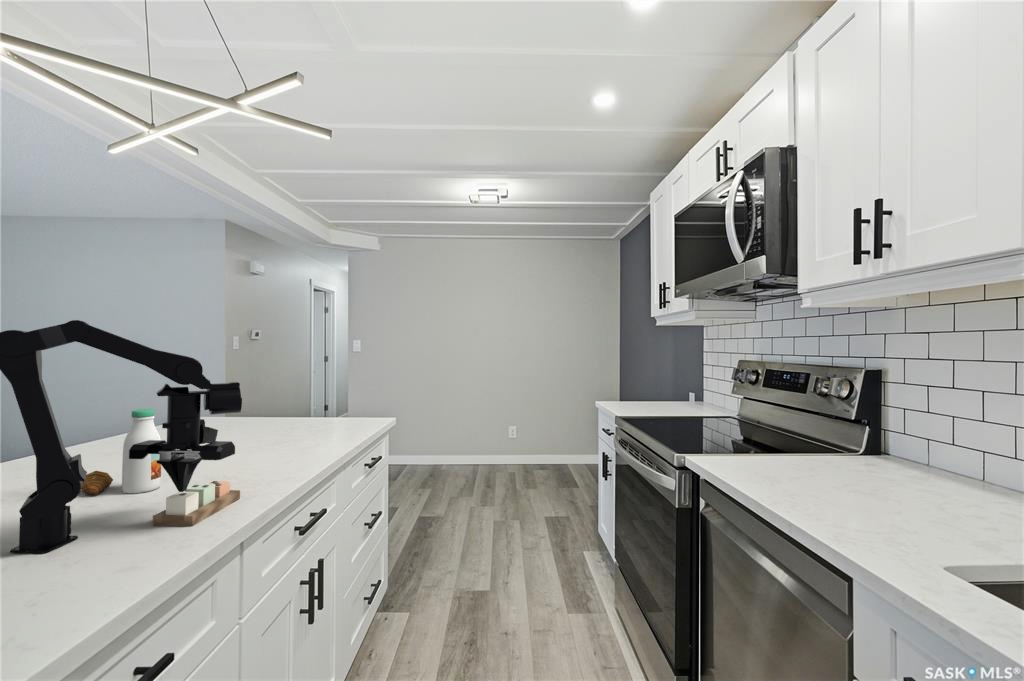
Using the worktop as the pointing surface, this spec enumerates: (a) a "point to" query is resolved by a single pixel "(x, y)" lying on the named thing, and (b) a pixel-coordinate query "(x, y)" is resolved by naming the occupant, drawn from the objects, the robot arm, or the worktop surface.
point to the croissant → (96, 483)
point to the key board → (196, 512)
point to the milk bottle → (141, 471)
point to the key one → (182, 503)
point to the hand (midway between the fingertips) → (182, 491)
